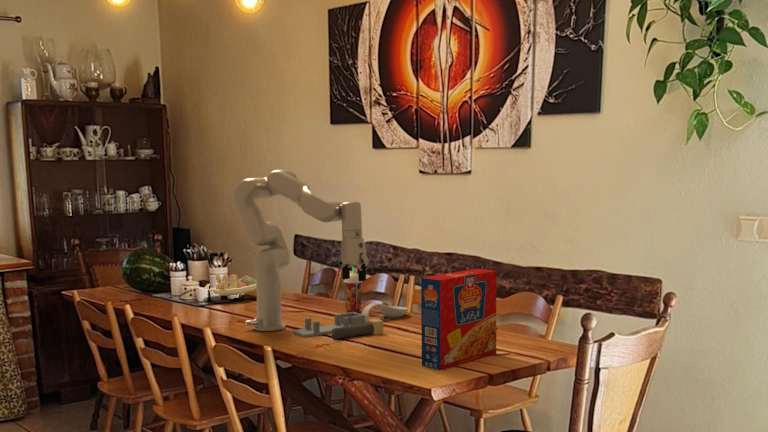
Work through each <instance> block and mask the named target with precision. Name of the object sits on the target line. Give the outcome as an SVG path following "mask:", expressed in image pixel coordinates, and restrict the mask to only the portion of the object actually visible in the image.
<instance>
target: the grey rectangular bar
mask: <svg viewBox="0 0 768 432" xmlns="http://www.w3.org/2000/svg"><path fill="white" fill-rule="evenodd" d="M381 333H382V334H384V320H382V319H378V318H371V319H368V323H366V324H361V325H354V326H347V327H340V328H334V329H332V333H331V337H332V339H333V340H340V339H347V338H351V337H352V338H353V337H359V336H366V335H374V336H375V334H376V335H380V334H381Z"/></svg>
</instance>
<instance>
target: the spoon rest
mask: <svg viewBox="0 0 768 432" xmlns="http://www.w3.org/2000/svg"><path fill="white" fill-rule="evenodd" d="M375 307H376V308H378V309H379V310H380V312H381V313H382V314H383V315H384V316H385V317H386V318H393V319H395V318H401V317H403V316H404V315H406V313H407V312H408V310H409V308H408V307H405V306H398V305H397V306H396V305H385V304H382V303H376V302H372V303H371V302H370V303H369V304H368V305H366V306H365V307H364V308H363V310H362V311H361V313H360V314H362V315H365V318H366V324H367V323H368V320H370V319H369V317H370V316H369V315H370V311H371V310H373V308H375Z"/></svg>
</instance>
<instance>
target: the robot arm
mask: <svg viewBox="0 0 768 432" xmlns="http://www.w3.org/2000/svg"><path fill="white" fill-rule="evenodd" d="M310 190H311V189H310V185H308V184H307V183H305V182H303V181H302V180H300V179H299V178H298V177H297V175H296V174H295V172H293V171H292V170H289V169H274V170H272V171H271V172H269V174H268V175H267V176H265V177H247V178H244V179H242V180H241V181H240V182H238V183H237V184H236V186H235V188H234V191H233V195H232V196H233V197H232V198H233V204H234V206H235V209H236V211H237V214H238V215H239V218H240V221H241V224H242V227H243V230H244V232H245V234H246V237H247V238H246V239H248V242H249V243H250V245H251V246H253V247H255V248H257V247H258V248H261V247H264V248H263V249H262V250H260V251H258V252H257V253H256V254H255V256H254V258H253V268H254V273H255V280H256V289H255V290H256V316H255V317H254V318H253V319H251V320H250V319H249V320H245V321H244V324H245V327H246V326H247V327H248V326H251V327H252V328H253V330H254V331H257V332H275V331H280V330H284V329H285V328H286V324H285V323H283V322H282V321H283V320H282V283H281V282H282V281H281V277H280V274H279V271H281V270H284V269H286V268H287V267H288V266H289V264H290V263H291V262H290V261H291V255H290V250H289V248H288V245H287V243H286V241H285V237H284V235H283V232H282V231H281V229H280V227H279V226H278V225H277V224H276V223H274V222H272V221H265V218H264V216H263V213H262V211H261V208H260V207H259V206H258V204H257V203H256V200H265V199H269V198H273V197H276V196H279V195H280V196H282V197H284V198H286V199H287V200H289V201H291V202H292V203H295V204H296V206H298V208H300V210H302V212H304V213H305V214H307V215H309V216H310V217H312V218H314V219H315V220H317V221H320V222H322V223H333V222H334V223H335V222H338V221H341V236H342V238H341V246H340V250H341V251H340V255H338V257H337V259H338V262H339V263H338V264H339V265H340V268H341V274H342V276H341V277H342V278H341V279H342V280H345V279H349V278H350V273H351V272H350V271H351V270H350V266H351V265H352V266H357V268H358V272H357V274H358V280H359V281H363V282H365V281H367V269H368V266H369V262H370V258H368V257H367V250H366V243H365V240H364V238H363V222H362V219H363V218H362V205H361V203H360V202H359V201H344V202H342V201H324V199H321V198H319V197H318V196H316V195H314V194H313V193H312V192H311V191H310Z"/></svg>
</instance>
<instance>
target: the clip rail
mask: <svg viewBox="0 0 768 432" xmlns="http://www.w3.org/2000/svg"><path fill="white" fill-rule="evenodd" d="M304 321H305V322H304V325H305V326H304V327H305V328H301V329H300V328H299V329H293V334H295V335H298V336H299V337H302V338H309V337H315V336H321V335H329V334H332V329H334V328H340V327H347V326H354V325H361V324H367V323H366V318H365V315H362V314H361V313H360V312H358V313H356V312H344V313H340V314H339V313H337V314H334V324H328V325H322V326H321V325H320V321H319V320H317V321H313V322H312V318H311V317H309V318H304ZM312 323H313V326H312Z"/></svg>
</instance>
